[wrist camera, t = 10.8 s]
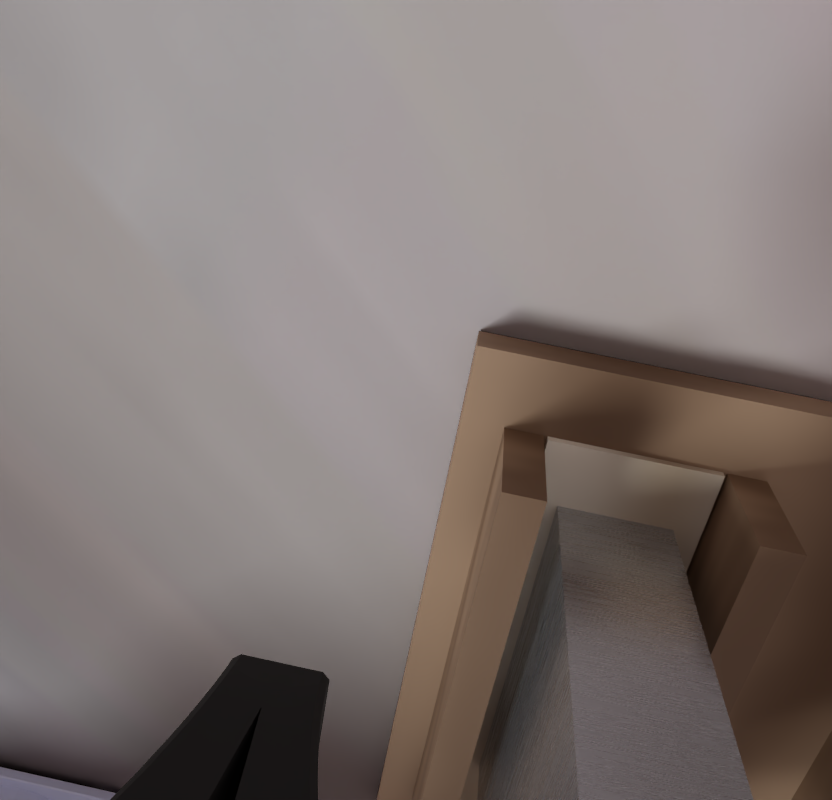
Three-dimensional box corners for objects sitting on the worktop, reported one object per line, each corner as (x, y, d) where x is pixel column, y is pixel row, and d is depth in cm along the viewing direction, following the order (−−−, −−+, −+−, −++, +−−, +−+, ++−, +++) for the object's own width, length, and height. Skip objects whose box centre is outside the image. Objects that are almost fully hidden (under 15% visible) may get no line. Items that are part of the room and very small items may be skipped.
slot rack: (376, 799, 28) (355, 914, 24) (478, 331, 20) (469, 400, 16) (944, 926, 27) (1009, 1065, 23) (1293, 495, 19) (1474, 605, 15)
